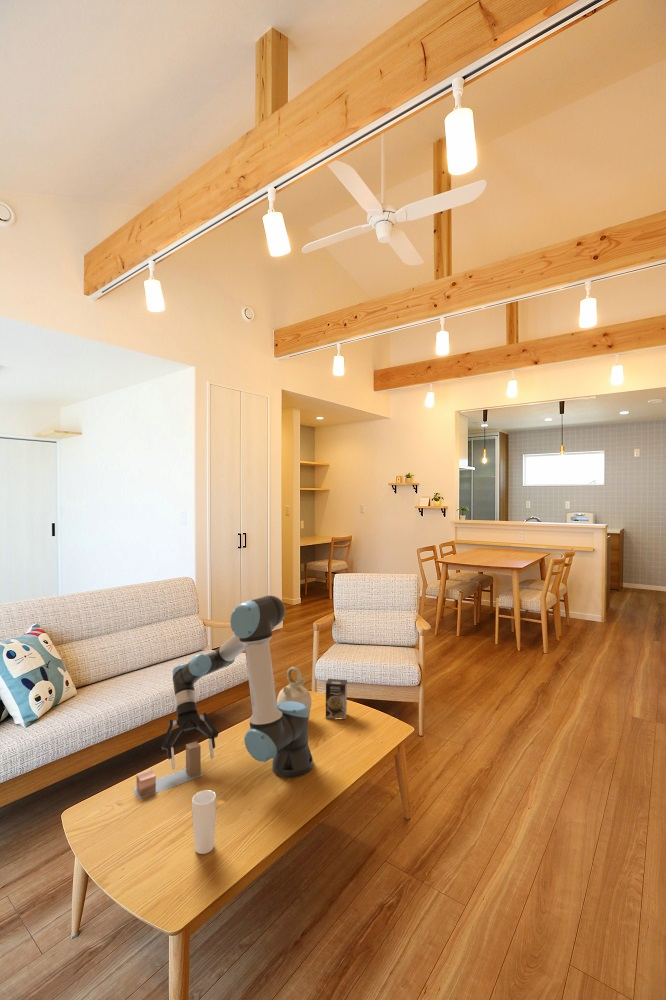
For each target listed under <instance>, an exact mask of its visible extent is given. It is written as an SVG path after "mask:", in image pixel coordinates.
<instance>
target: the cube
mask: <svg viewBox="0 0 666 1000" xmlns="http://www.w3.org/2000/svg"><path fill="white" fill-rule="evenodd" d="M135 779H136V786H137V790H138V792H139V794H140V796H142V795H144V794H147V793H150V792H153V791H155V790H156V779H157V778H156V774H155V772H154V771H153V769H152V768H150V769H147V770H143V771H141V772H138V773H136V778H135Z"/></svg>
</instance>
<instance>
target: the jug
mask: <svg viewBox="0 0 666 1000" xmlns="http://www.w3.org/2000/svg"><path fill="white" fill-rule="evenodd" d="M293 672H295V675H296V676H297V680H294V679H293V676H292V673H293ZM286 679H287V682H288V683H289V684H287V685H286V686H284V687H282V689H280V690H279V692H278V695H277V697H276V702H277V705H278V704H280V703H282V702H288V701H292V702H299V703H302V704H304V705H305V706H306V707H307V709H308V716H309V717H308V721H309V720H310V715H311V708H312V697H311V693H310V692H309V689H308V688H306V687H305V686H304V685H305V683H306V681H307V680H306V679H304V678H303V676H302V672H301V670H300V669H299V668H298V667H296V666H291V667H290V668H288V670H287V672H286Z"/></svg>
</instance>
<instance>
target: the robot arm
mask: <svg viewBox="0 0 666 1000" xmlns="http://www.w3.org/2000/svg"><path fill="white" fill-rule="evenodd" d="M286 613H287V611H286V606H285V603H284V602H283V601H282V600H281V599H280V598H279V597H277V596H274V595H265V596H262V597H258V598H254V599H253V598H252V599H250V600H246V601H244V602H242V603H240V604H238V605H236V606H235V608H234V609H233V610H232V612H231V614H230V628H231V630H232V632H233V634H232V635H231V637H229V638H228V639H227V640H226V641H225V642H224V643H222V644H221V645H220V647H218V648H216V650H214V651H211V652H210V653H207V654H204V653H198V654H197V655H195V656H193V657H192V659H191V660H189V662H187V663H182V664H179V665H177V666H175V667H173V670H172V684H173V691H174V699H175V706H176V718H177V719H176V720H173V719H170V720H169V721H168V728H167V731H166V735H165V736H164V739H163V742H162V745H161V750H162V751H163V750H166V752H167V753H166V754H167V758H168V760H171V768H172V770H176V769H175V768H176V762H175V752H174V747H173V746H174V744H175V742H176V741H177V739H178V737H179V736H180V735H181V733H182V731H184V732H187V731H193V730H194V729H195V730H197V731H199V732H200V733H201V734H202V735H204V737H206V738H208V748H209V749H208V750H209V757H210V760H214V758H215V755H214V749H215V748H216V741H215V739H216V738H218V736H219V734H220V733H219V731H218V730H217V729H216V727H215V726H214V725H213V723H212V722H211V721H210V719H209V717H208V713H207V712H204V713H203V714H200V715H199V713H198V705H197V702H196V701H197V698H196V693H195V692H196V690H195V685H194V684H196V683H197V682H198V681H199V680H200V679H201V678H203V677H205V676H207V675H209V674H212V673H215V672H216V671H218V670H221V669H224V668H227V667H229V666H230V665H232V664H234V662H235V660H236V658H237V657H238V656H239V655H241V653H243V652H245V657H246V659H245V661H246V668H247V676H248V685H249V693H250V701H251V710H252V715H251V716H250V717H249V720H248V721H249V729H248V730H247V732H246V733H245V735H244V741H243V742H244V746H245V749H246V750H247V752H248V754H249V755H250V756H251V757H252V758H253V759H254V760H256V761H258V762H262V763H265V762H269V761H270V760H271V759H272V761H271V762H272V764H271V767H272V768H271V769H272V770H273V772H274V773H275V774H276V775H278V776H279V777H282V776H283V778H288V777H290V779H293V778H298V777H303V776H305V775H307V774H308V773H310V772H311V770H312V769H313V766H314V763H313V762H314V758H313V755H312V751H311V748H310V746H309V720H308V717H309V718H310V715H309V716H308V709H307V707H306V706H305V705H304V704H302V703H299V702H292V701H288V702H282V703H280V704H278V705H277V697H276V696H277V695H276V687H275V681H274V680H275V679H274V673H273V671H274V669H273V663H272V654H271V648H270V640H271V639H272V638H273V630H274V629H275V628H277V626H279V625H280V624H281V623H282V622H283V621H284V619H285V617H286ZM200 720H201V721H203V723H204V724H205V725H206V727H207V728H208V729H207V728H206V727H204V725H202V724H201V723H200V722H199V721H200ZM176 725H177V726H178V729H177V730H176V732H175V733H174V735H173V736H172V738H171V739H170V742H169V743H168V740H169V738H170V735H171V733H172V730H173V728H175V726H176ZM306 773H307V774H306Z"/></svg>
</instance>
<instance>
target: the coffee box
mask: <svg viewBox="0 0 666 1000" xmlns="http://www.w3.org/2000/svg"><path fill="white" fill-rule="evenodd" d="M347 689H348V680H347V679H339V678H338V679H335V678H328V679H327V681H326V682H325V719H326V718H342V719H345V720H346V718H345V717H347V715H346V713H348V712H347V711H348V710H347V706H348V705H347V704H348V700H347V699H348V697H347V694H348V692H347V691H348V690H347Z"/></svg>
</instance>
